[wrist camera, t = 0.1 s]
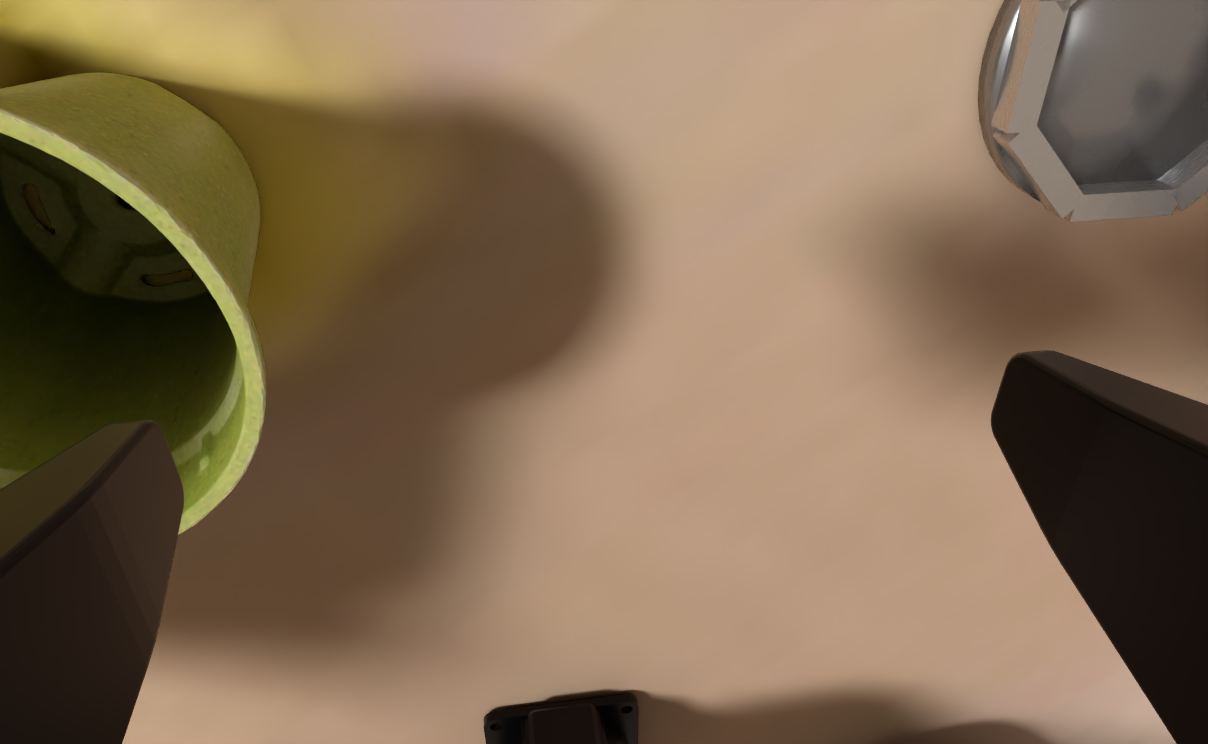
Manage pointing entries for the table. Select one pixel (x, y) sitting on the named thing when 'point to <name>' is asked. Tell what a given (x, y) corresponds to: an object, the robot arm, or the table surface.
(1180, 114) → the bowl
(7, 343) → the plant pot
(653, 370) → the table surface
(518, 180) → the table surface
